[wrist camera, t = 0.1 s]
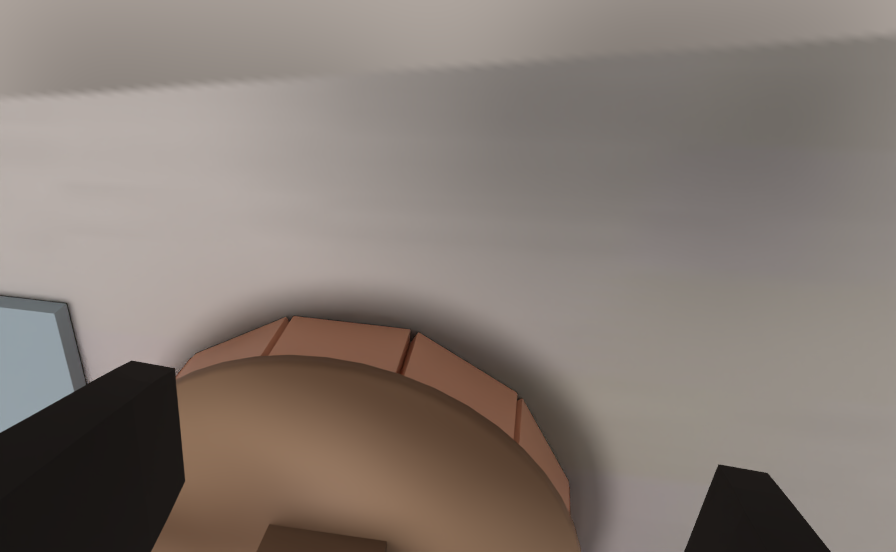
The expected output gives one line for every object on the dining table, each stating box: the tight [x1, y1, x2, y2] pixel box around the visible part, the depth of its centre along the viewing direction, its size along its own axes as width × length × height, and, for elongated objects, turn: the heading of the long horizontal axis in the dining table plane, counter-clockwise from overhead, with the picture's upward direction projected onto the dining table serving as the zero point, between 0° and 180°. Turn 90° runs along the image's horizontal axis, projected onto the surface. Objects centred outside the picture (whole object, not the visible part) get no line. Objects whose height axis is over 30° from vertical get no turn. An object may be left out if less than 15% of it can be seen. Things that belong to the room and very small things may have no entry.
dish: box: [176, 316, 570, 514], centre depth 23 cm, size 14×14×2 cm
